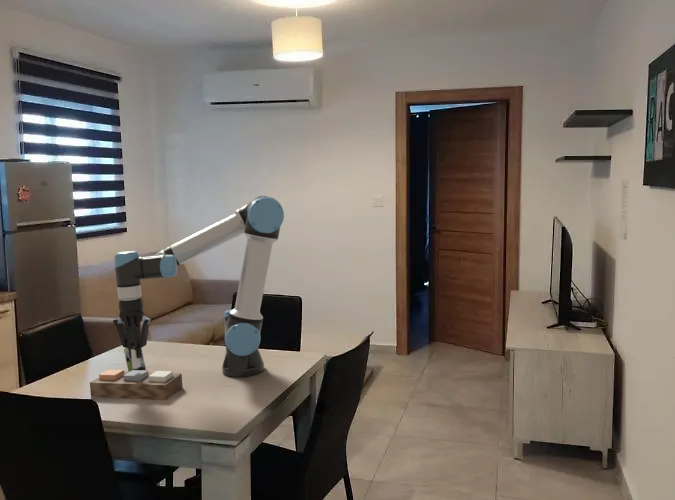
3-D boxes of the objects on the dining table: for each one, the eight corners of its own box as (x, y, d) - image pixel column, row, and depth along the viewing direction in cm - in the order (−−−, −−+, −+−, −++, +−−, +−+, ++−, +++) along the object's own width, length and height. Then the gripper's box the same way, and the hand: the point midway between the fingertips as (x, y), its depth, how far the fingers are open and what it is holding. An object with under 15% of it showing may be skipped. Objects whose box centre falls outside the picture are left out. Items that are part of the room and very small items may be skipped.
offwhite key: (173, 382, 214) (172, 371, 213) (165, 388, 208) (164, 376, 208) (157, 382, 215) (156, 370, 214) (149, 388, 209) (148, 376, 209)
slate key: (149, 382, 215) (148, 370, 215) (140, 387, 210) (139, 375, 209) (133, 381, 217) (132, 370, 216) (124, 387, 211) (123, 375, 211)
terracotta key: (124, 381, 217) (124, 369, 217) (115, 386, 212) (114, 375, 211) (109, 380, 219) (108, 369, 218) (99, 386, 213) (99, 374, 212)
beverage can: (141, 378, 228) (138, 346, 227) (122, 378, 230) (119, 345, 228) (149, 373, 234) (147, 341, 233) (131, 372, 236) (129, 341, 235)
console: (182, 387, 217) (181, 373, 216) (166, 400, 205) (165, 385, 204) (111, 385, 222) (109, 371, 222) (91, 397, 211) (89, 382, 210)
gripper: (153, 295, 212) (159, 364, 215) (118, 296, 215) (124, 363, 218) (142, 300, 205) (148, 371, 208) (106, 300, 208) (112, 370, 210)
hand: (136, 367), depth 213 cm, fingers closed
